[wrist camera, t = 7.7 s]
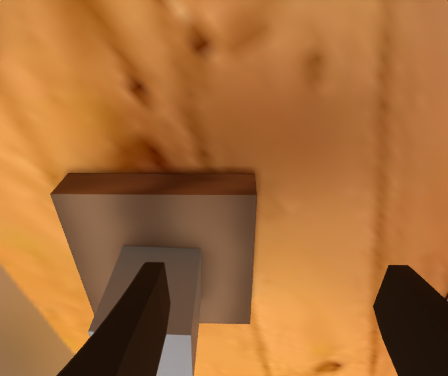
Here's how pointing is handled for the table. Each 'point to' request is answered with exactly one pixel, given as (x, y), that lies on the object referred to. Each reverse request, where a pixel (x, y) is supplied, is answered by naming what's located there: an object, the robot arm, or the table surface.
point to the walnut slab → (165, 230)
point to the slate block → (179, 297)
